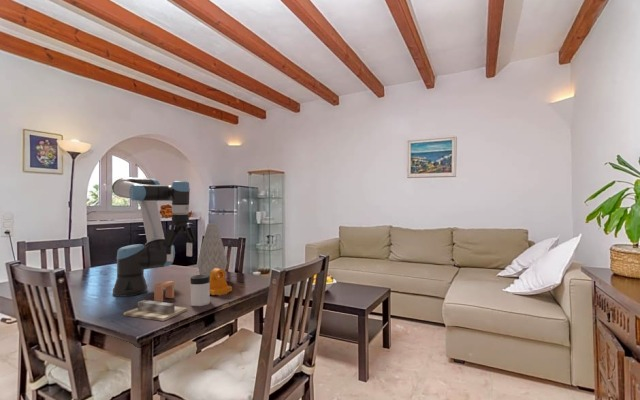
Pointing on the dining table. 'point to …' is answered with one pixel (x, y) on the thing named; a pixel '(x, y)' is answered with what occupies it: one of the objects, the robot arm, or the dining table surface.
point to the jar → (200, 290)
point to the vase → (211, 251)
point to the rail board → (154, 314)
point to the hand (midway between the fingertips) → (179, 258)
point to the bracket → (218, 282)
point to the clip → (159, 290)
